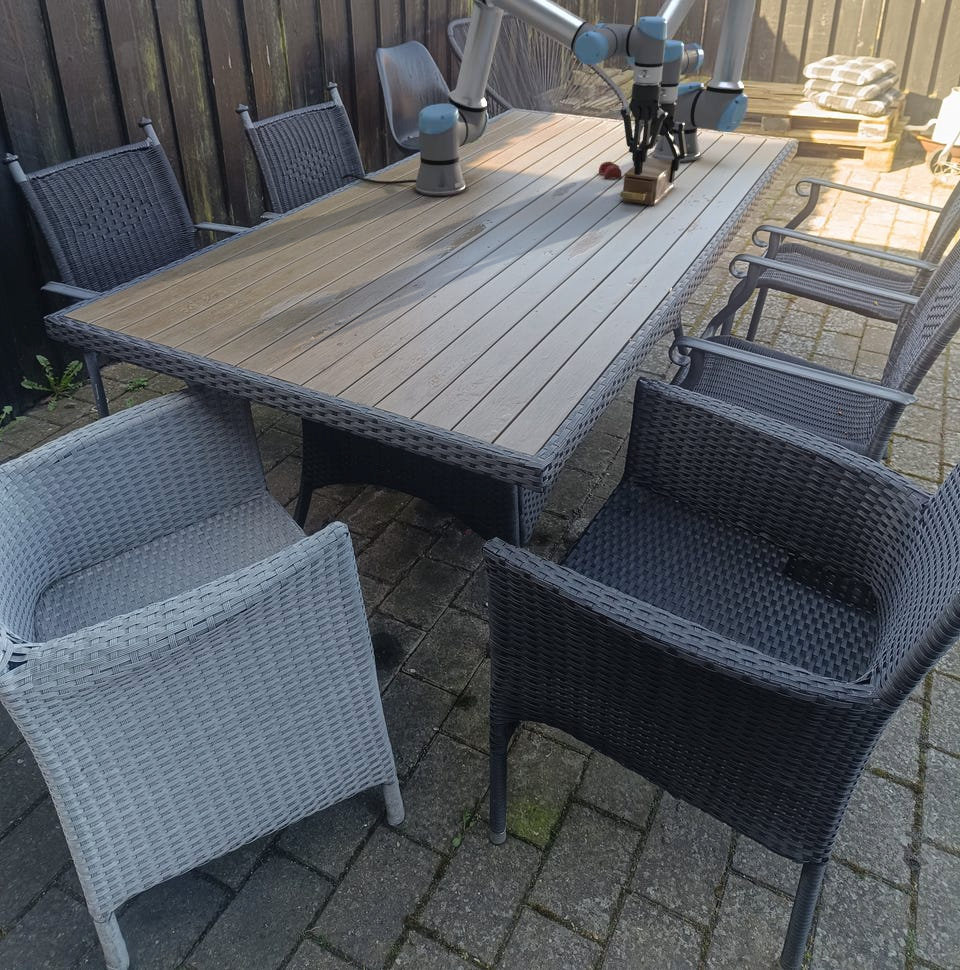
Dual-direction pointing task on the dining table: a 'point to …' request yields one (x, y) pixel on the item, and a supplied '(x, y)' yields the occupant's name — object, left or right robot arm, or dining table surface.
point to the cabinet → (654, 177)
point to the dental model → (610, 170)
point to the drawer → (638, 190)
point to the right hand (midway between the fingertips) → (654, 179)
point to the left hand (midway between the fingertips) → (638, 173)
